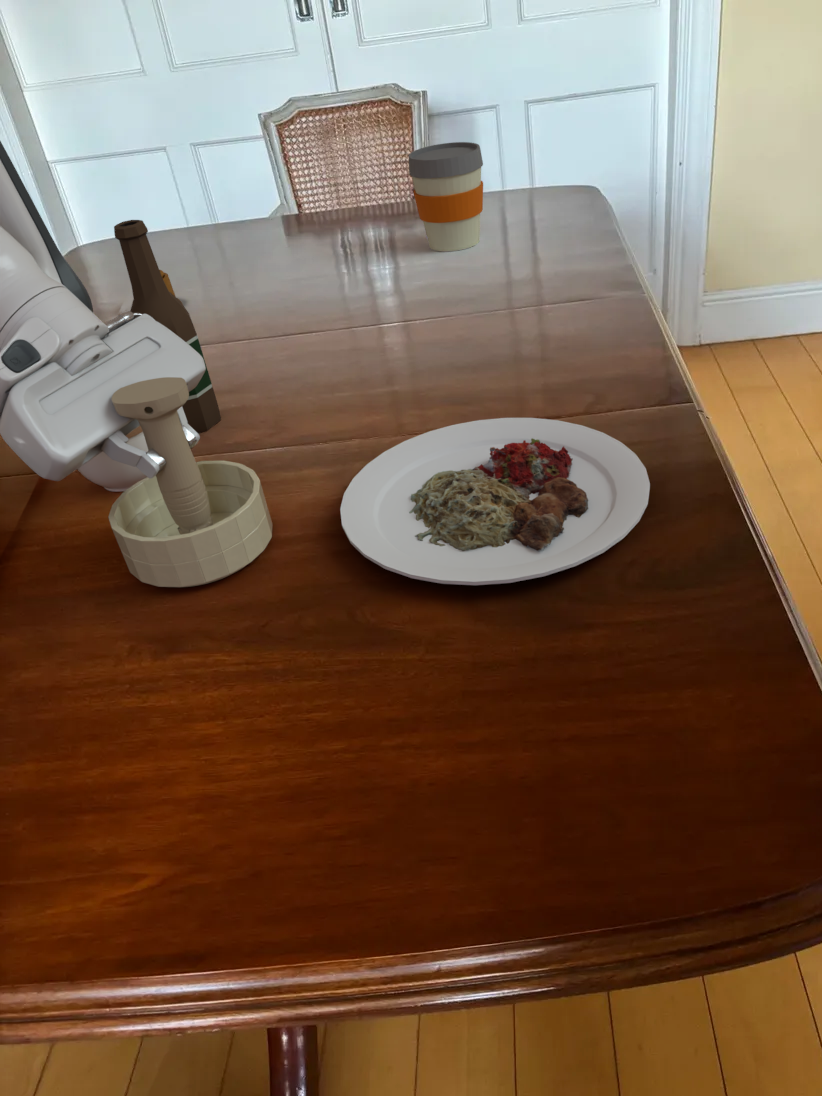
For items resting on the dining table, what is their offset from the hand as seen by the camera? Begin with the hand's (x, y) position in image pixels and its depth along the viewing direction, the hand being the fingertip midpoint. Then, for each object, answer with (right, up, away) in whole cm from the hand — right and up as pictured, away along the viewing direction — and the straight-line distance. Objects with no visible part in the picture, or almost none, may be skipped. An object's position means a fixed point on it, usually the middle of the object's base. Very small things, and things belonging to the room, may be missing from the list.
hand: (176, 458), depth 82 cm
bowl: (+1, -8, +6) cm, 10 cm away
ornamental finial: (-22, +33, +63) cm, 74 cm away
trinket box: (-12, +1, +21) cm, 24 cm away
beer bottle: (-7, +9, +30) cm, 32 cm away
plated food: (+29, -4, +7) cm, 30 cm away
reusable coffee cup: (+26, +50, +77) cm, 95 cm away
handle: (0, -7, +5) cm, 9 cm away
